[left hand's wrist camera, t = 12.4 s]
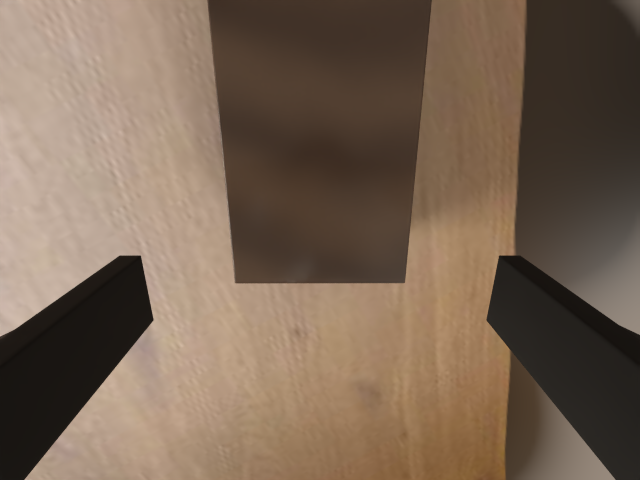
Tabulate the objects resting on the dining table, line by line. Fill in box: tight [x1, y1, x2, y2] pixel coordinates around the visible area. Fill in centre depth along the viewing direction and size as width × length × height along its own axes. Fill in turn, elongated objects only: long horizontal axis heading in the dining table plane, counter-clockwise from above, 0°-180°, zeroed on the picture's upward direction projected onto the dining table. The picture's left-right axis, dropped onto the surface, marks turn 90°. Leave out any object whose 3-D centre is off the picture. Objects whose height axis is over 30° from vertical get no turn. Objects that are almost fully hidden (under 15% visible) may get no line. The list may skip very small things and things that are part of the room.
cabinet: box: [207, 0, 432, 283], centre depth 22 cm, size 17×10×9 cm, turn 0°
